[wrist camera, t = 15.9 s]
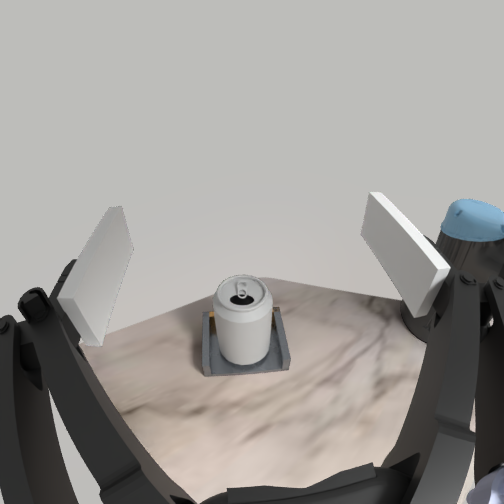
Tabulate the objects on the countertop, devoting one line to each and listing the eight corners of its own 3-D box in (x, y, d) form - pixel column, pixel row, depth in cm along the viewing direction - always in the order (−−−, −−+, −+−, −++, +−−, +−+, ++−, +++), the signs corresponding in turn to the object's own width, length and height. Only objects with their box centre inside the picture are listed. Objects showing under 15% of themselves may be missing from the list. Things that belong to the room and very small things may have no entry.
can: (216, 366, 38) (206, 312, 31) (221, 327, 44) (215, 269, 37) (269, 368, 38) (274, 313, 31) (269, 328, 44) (272, 270, 37)
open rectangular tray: (277, 319, 46) (278, 306, 44) (288, 369, 38) (290, 359, 36) (205, 324, 45) (202, 312, 44) (204, 376, 37) (202, 366, 35)
